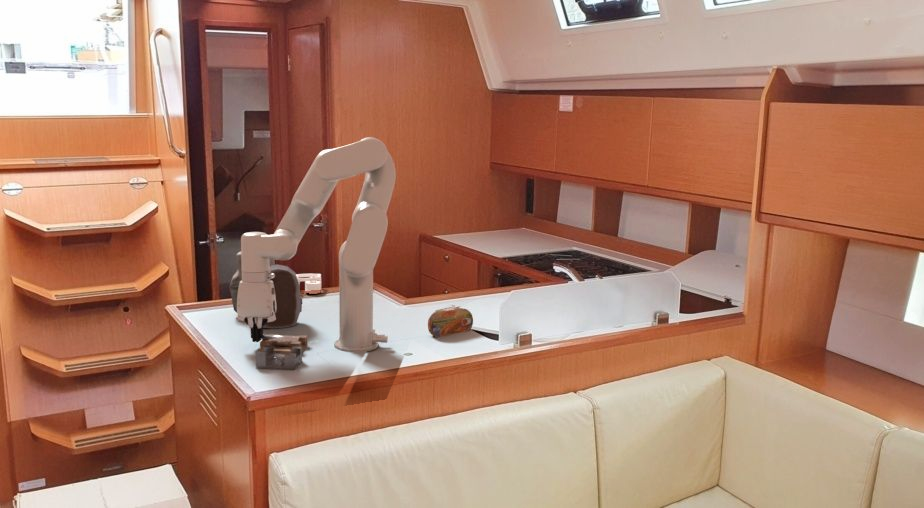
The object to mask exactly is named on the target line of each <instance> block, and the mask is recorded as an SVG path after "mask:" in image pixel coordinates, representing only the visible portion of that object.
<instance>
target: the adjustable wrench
mask: <svg viewBox="0 0 924 508" xmlns="http://www.w3.org/2000/svg"><path fill="white" fill-rule="evenodd" d="M451 305H452V306H449V307H448V306H447V307H445V308H440V309H437V310H436V309H435V311H434V312H436V311H441V310H448V309H455V308H458V307H459V308H461V306H459V305H453V304H451Z"/></svg>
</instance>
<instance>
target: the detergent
mask: <svg viewBox="0 0 924 508" xmlns="http://www.w3.org/2000/svg"><path fill="white" fill-rule="evenodd" d="M236 266H237V270H236V272H235V273H234V274H233V275H232V278H231V280H230V284H229V293H230V297H231V301H232V302H231V303H232V307H233V311H234V312H236V313H237V296H238V288H239V283H240V281H241V280H242V261H241V251H239V252H237V254H236Z"/></svg>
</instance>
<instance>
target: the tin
mask: <svg viewBox="0 0 924 508" xmlns="http://www.w3.org/2000/svg"><path fill="white" fill-rule="evenodd" d="M429 316H430V317H429V318H428V320H427V329H428V332H429V334H430V335H432V336H433V337H435V338H440V337H445V336H449V335H453V334H458V333H463V332H470V331H471V330H472V327H473V324H474V317H473V314H472V313H471V311H470V310H469V309H466V308H461V307H459V308H455V309H448V310H441V311H436V312H435V311H434V312H433V313H432V314H431V315H429Z"/></svg>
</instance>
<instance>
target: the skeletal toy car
mask: <svg viewBox="0 0 924 508" xmlns="http://www.w3.org/2000/svg"><path fill="white" fill-rule="evenodd" d="M296 276H297V279H298V282H299V286H300V283H301V282H304V290H305V291H311V290H321V291H322V274H321V273H298V274H297V273H296ZM300 287H301V286H300ZM305 291H304V292H305Z"/></svg>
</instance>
